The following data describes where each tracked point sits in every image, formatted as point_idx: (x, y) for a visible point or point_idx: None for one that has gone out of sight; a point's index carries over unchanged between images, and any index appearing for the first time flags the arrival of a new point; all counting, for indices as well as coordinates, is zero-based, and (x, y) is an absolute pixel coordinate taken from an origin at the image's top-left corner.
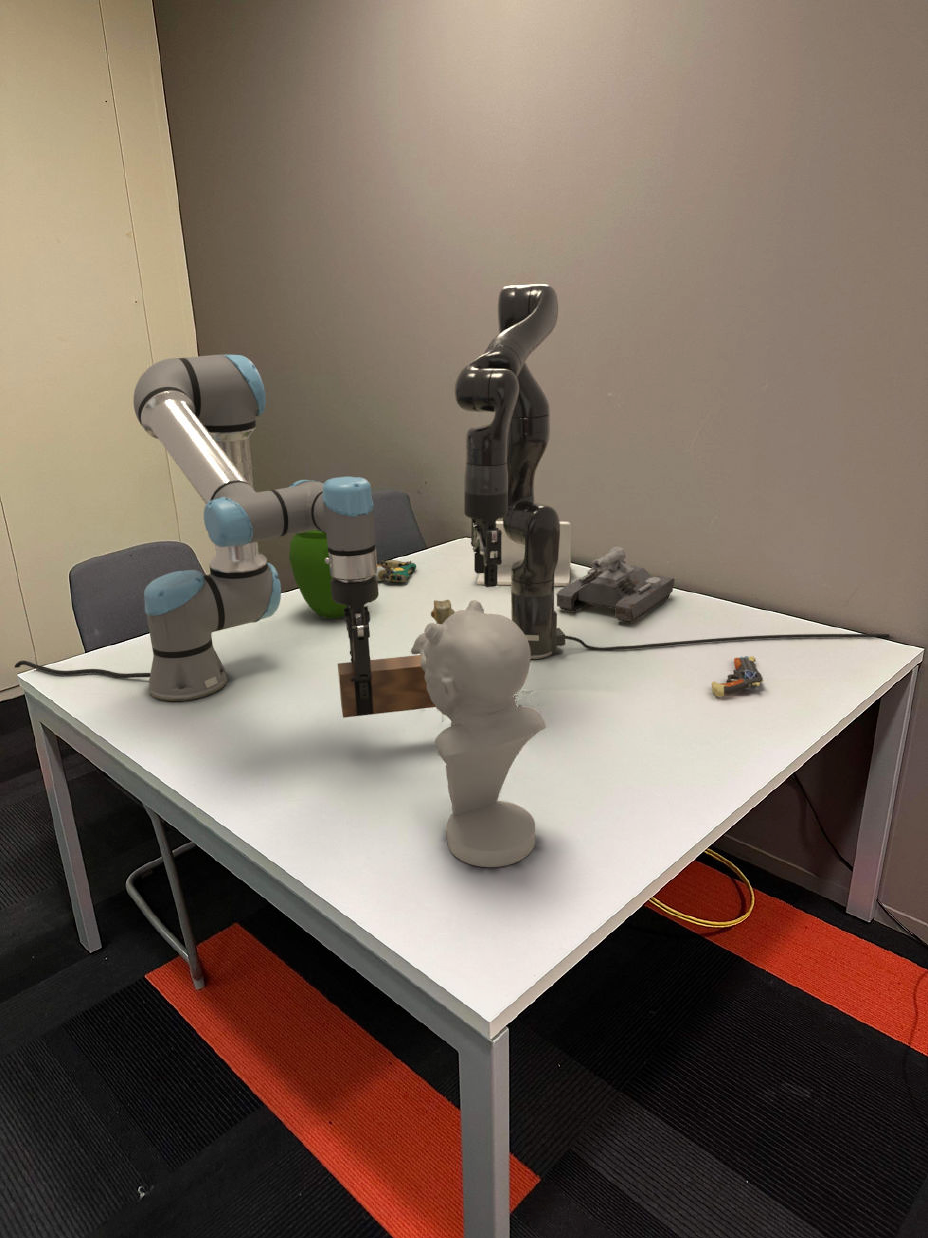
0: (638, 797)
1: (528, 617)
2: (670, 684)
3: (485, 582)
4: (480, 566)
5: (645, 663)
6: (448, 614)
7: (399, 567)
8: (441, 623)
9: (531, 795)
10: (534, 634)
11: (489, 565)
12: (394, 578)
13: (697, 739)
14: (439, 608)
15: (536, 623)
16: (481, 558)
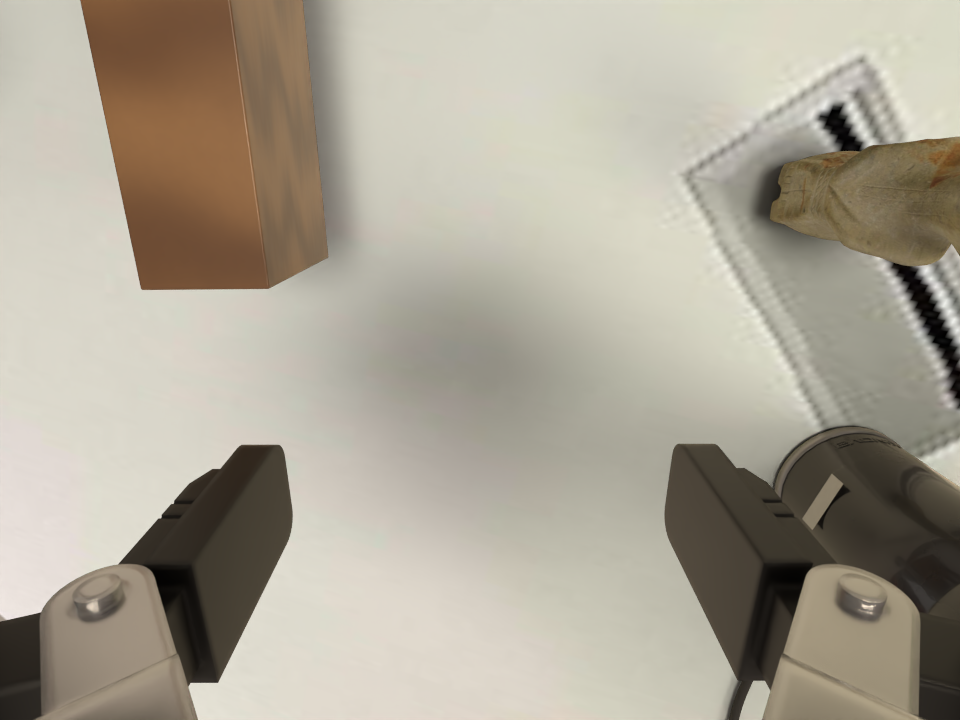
0: (36, 485)
1: (873, 542)
2: (518, 703)
3: (230, 461)
4: (689, 515)
5: (645, 697)
6: (955, 229)
7: None
8: (934, 189)
9: (39, 276)
10: (823, 520)
11: (4, 623)
12: None
13: (260, 659)
14: None
15: (845, 551)
16: (725, 582)
